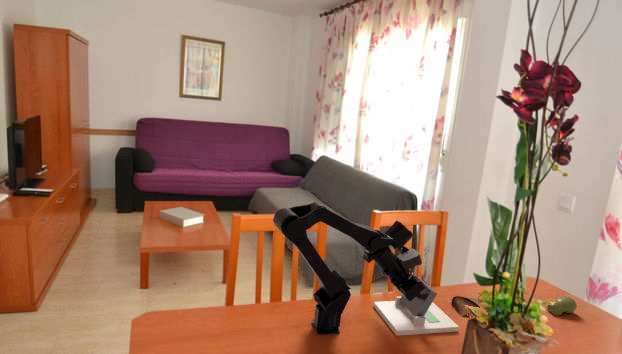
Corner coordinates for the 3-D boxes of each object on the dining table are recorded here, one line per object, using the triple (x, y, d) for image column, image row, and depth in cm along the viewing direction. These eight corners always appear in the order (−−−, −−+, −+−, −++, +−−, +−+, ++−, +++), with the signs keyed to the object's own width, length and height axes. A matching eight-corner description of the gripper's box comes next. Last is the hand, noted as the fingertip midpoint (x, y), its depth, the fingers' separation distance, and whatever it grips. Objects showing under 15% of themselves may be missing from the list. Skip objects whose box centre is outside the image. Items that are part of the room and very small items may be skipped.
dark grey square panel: (413, 320, 119) (431, 290, 118) (397, 303, 129) (413, 275, 128) (419, 323, 120) (437, 293, 119) (403, 305, 129) (419, 278, 129)
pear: (581, 300, 137) (557, 306, 134) (579, 314, 139) (556, 320, 136) (566, 292, 142) (543, 298, 140) (565, 305, 144) (542, 311, 141)
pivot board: (396, 335, 115) (398, 322, 114) (373, 306, 130) (375, 294, 129) (458, 331, 121) (460, 318, 120) (429, 303, 136) (431, 292, 135)
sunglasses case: (460, 316, 129) (459, 294, 131) (451, 317, 135) (450, 296, 138) (516, 322, 130) (514, 299, 132) (504, 321, 136) (503, 300, 138)
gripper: (424, 254, 110) (453, 291, 115) (392, 230, 127) (419, 263, 133) (393, 282, 109) (423, 318, 115) (366, 254, 127) (393, 286, 132)
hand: (415, 294), depth 124 cm, fingers closed, pressing on dark grey square panel
